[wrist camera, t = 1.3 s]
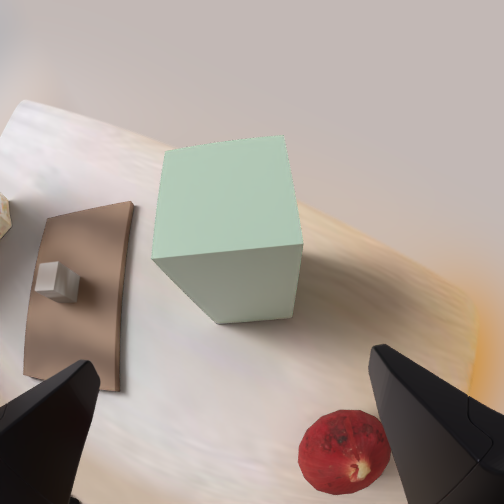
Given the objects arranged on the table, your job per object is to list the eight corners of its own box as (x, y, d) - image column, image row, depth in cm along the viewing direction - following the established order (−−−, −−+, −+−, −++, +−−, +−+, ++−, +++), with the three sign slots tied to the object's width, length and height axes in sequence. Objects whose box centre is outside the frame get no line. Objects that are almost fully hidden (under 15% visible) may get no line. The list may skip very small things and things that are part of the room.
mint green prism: (292, 317, 22) (303, 243, 11) (216, 324, 22) (151, 258, 11) (284, 249, 24) (283, 135, 13) (215, 255, 25) (165, 151, 13)
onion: (285, 421, 19) (287, 444, 11) (358, 393, 19) (398, 397, 12) (308, 485, 16) (321, 531, 9) (379, 456, 16) (424, 485, 9)
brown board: (119, 391, 20) (90, 389, 16) (28, 375, 21) (-1, 369, 17) (133, 205, 28) (115, 179, 24) (51, 221, 29) (30, 202, 25)
